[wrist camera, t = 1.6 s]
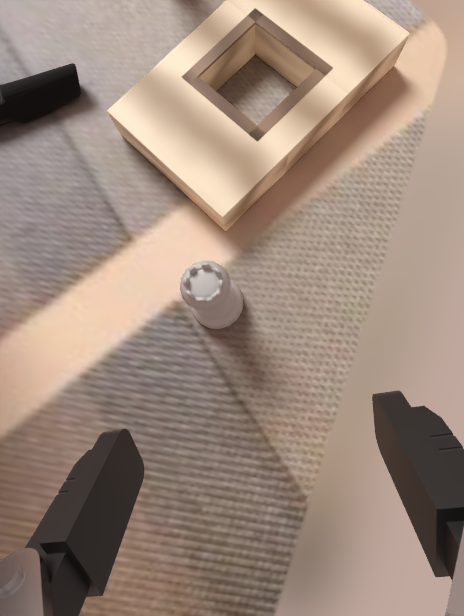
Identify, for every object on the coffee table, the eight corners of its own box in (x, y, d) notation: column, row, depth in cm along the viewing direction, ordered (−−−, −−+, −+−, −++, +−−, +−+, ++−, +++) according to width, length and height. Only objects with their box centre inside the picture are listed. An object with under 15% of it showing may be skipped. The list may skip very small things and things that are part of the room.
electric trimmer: (95, 109, 32) (78, 81, 29) (-55, 156, 32) (-88, 134, 29) (87, 77, 32) (70, 47, 29) (-60, 124, 33) (-93, 98, 29)
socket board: (225, 231, 28) (222, 217, 25) (121, 134, 31) (106, 110, 28) (394, 65, 30) (410, 33, 27) (282, -17, 32) (286, -55, 29)
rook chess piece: (228, 268, 28) (218, 234, 20) (253, 313, 27) (253, 295, 19) (182, 293, 28) (154, 268, 20) (206, 339, 27) (187, 332, 19)
